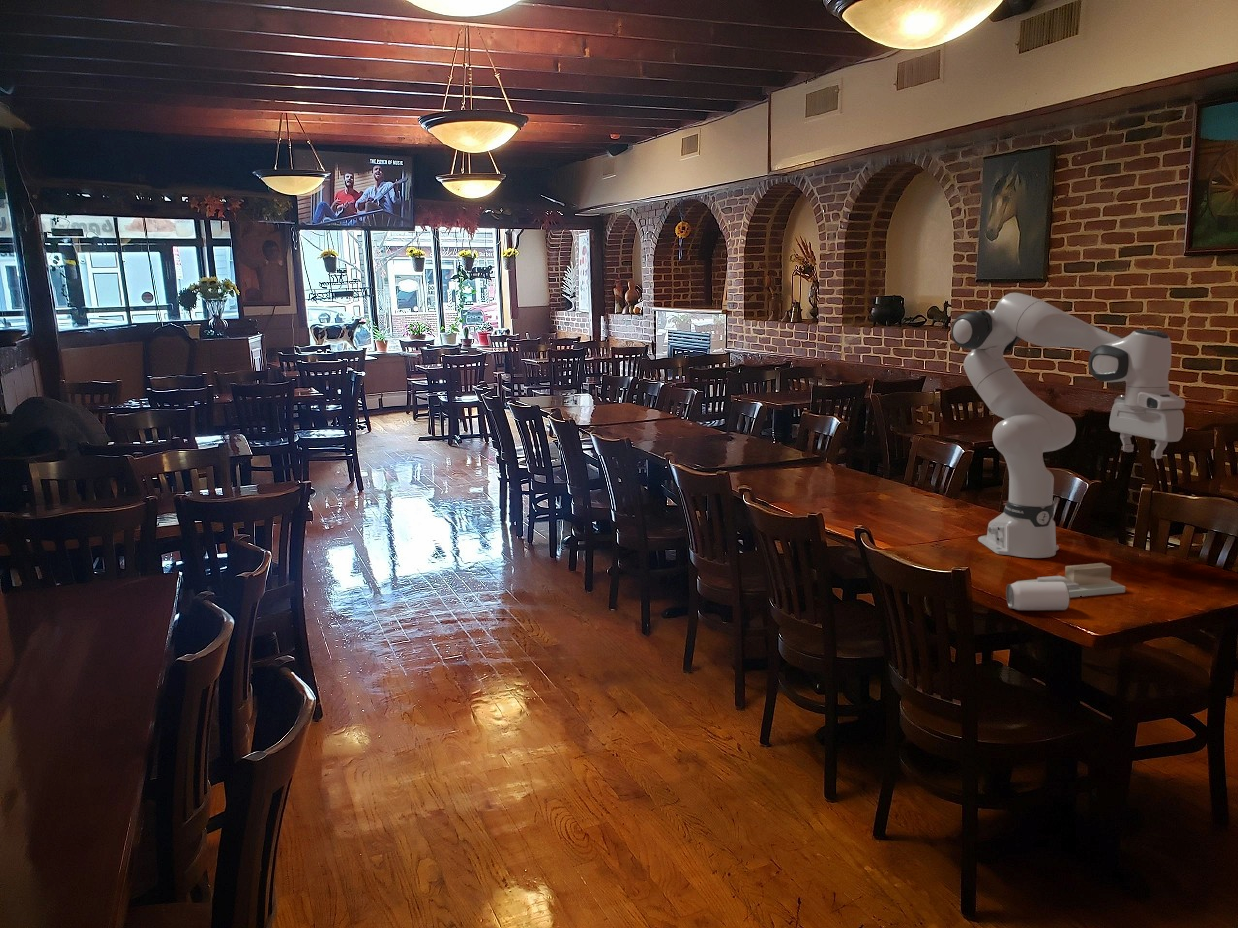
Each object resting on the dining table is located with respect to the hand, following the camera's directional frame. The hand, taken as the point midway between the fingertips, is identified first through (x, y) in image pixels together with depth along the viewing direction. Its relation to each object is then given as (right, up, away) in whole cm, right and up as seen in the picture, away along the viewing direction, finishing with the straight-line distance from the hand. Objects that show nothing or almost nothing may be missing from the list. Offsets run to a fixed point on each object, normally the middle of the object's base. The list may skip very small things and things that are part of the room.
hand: (1141, 454), depth 209 cm
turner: (-15, -31, +1) cm, 35 cm away
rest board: (-17, -33, +1) cm, 37 cm away
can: (-25, -32, -12) cm, 43 cm away
